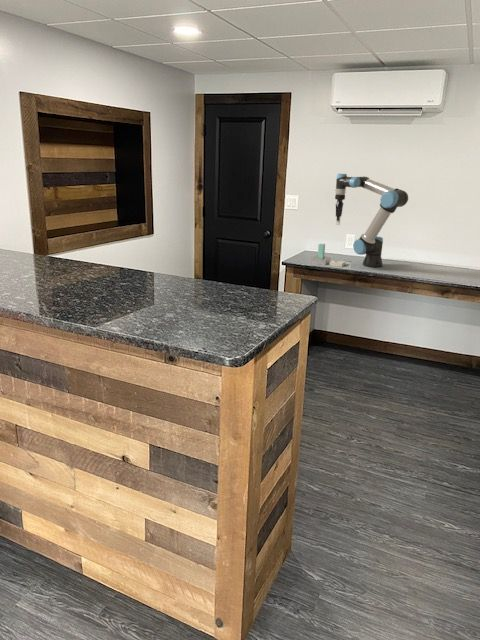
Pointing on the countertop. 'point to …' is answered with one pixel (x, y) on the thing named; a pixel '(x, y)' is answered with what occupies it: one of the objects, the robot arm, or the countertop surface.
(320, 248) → the plug
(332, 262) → the holster
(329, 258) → the port panel
